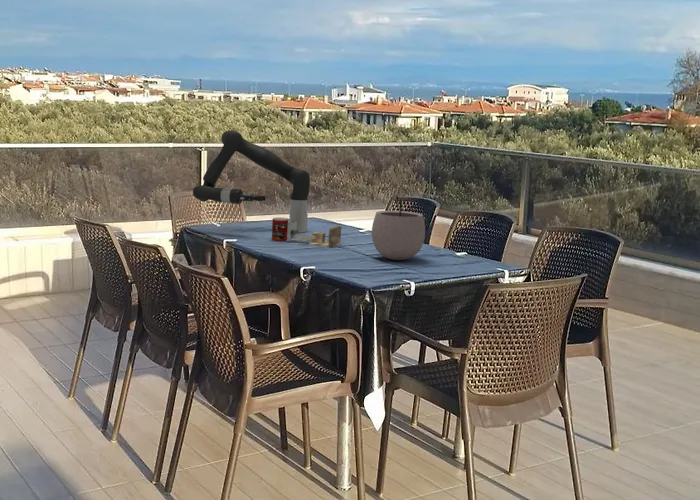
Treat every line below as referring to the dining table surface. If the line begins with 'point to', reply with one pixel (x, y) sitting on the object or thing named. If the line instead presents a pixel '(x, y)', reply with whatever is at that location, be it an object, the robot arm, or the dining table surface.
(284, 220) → the canned food
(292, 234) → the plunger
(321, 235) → the wooden stand
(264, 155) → the robot arm
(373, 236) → the plant pot
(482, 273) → the dining table surface
